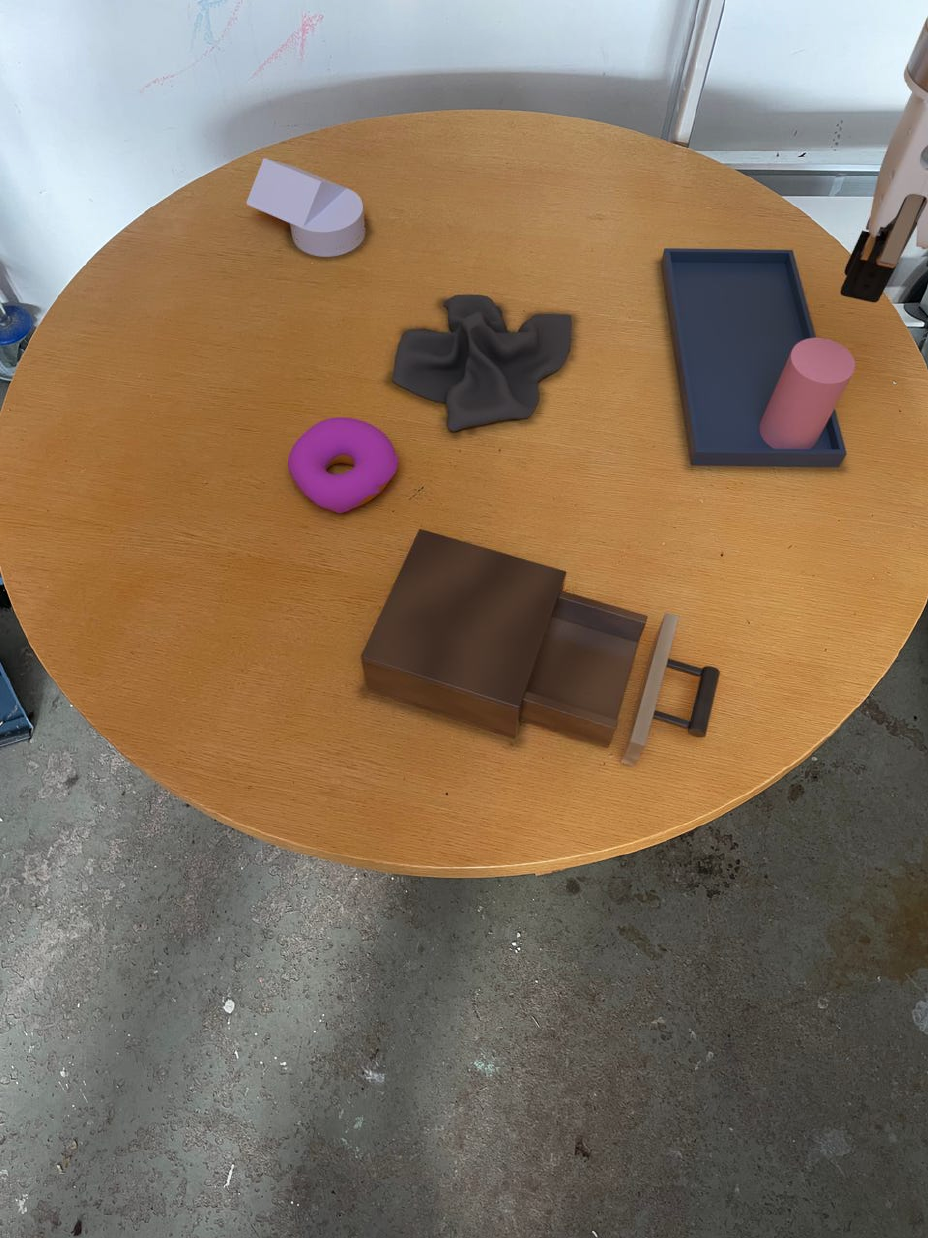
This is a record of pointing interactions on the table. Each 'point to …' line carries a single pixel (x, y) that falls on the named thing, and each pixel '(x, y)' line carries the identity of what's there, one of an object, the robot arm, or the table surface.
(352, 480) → the donut
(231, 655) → the table surface
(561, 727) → the drawer
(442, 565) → the cabinet
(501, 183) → the table surface
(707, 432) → the tray
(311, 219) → the wedge on round base
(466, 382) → the cloth
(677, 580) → the table surface
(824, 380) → the cylinder
